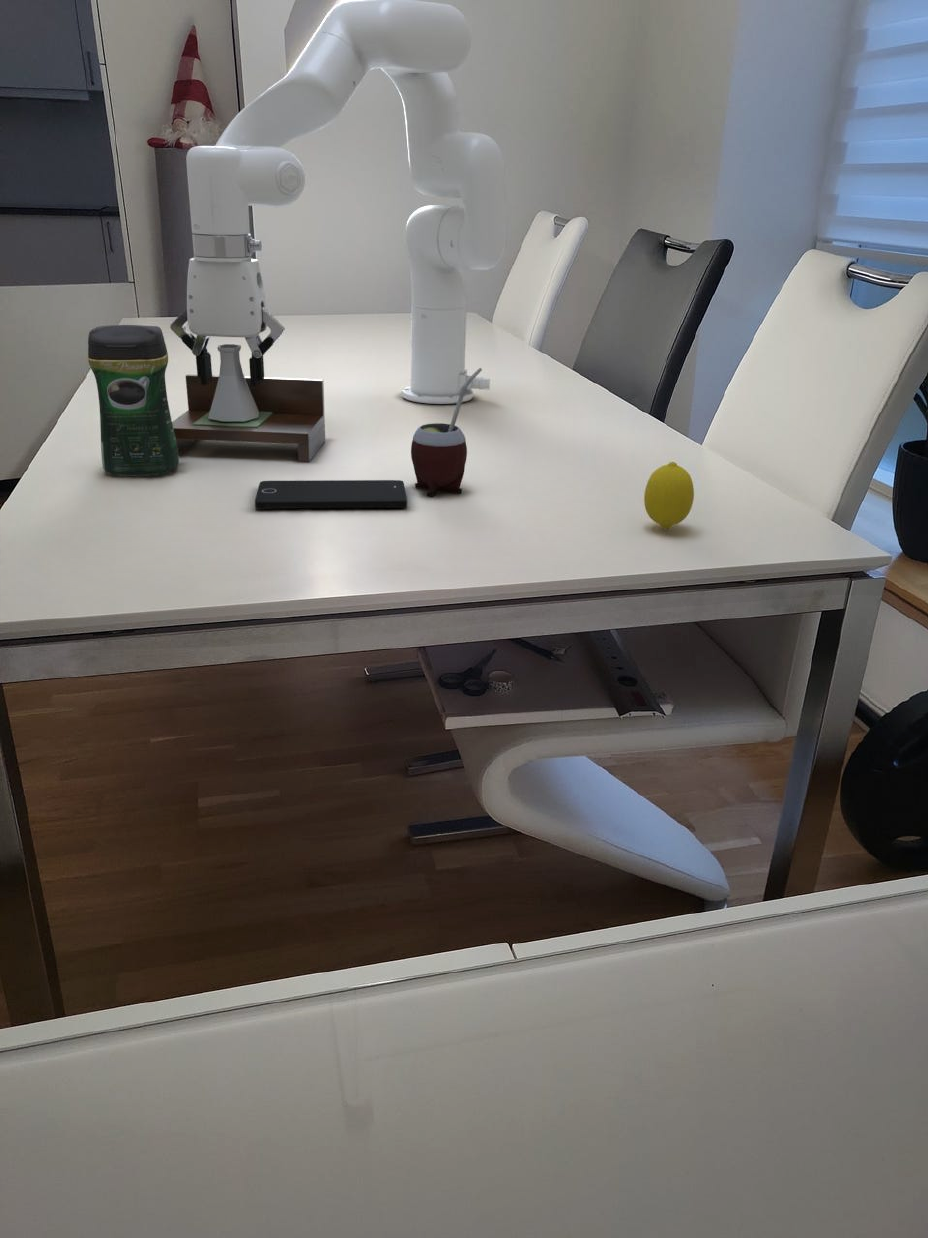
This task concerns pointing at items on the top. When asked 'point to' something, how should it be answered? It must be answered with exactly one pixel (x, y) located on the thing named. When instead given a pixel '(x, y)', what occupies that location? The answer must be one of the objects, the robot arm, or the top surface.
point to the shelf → (282, 418)
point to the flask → (232, 389)
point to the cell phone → (331, 494)
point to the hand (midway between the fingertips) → (231, 382)
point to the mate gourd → (441, 453)
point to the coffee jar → (133, 399)
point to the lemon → (669, 495)
